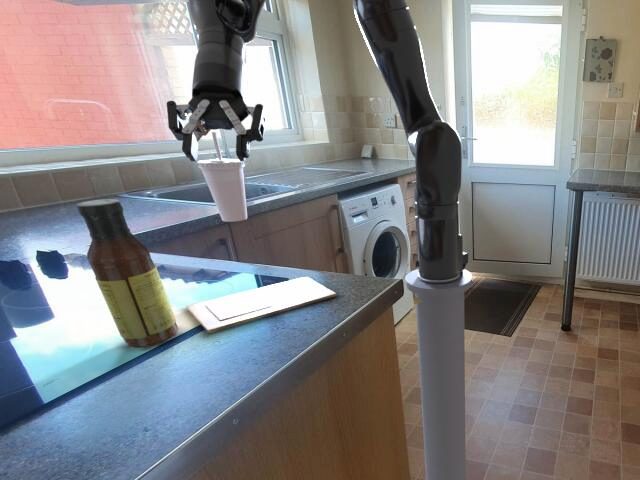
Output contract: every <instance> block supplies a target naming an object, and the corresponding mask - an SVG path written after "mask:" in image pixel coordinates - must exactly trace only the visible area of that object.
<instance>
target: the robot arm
mask: <svg viewBox="0 0 640 480" xmlns="http://www.w3.org/2000/svg"><path fill="white" fill-rule="evenodd" d="M266 1H267V0H188V8H189V14H190V16H191V19H192V22H193V25H194V28H195V31H196V35H197V38H198V39H197V49H196V54H195V58H194V62H193V65H194V66H193V74H192V76H193V77H192V84H191V85H192V86H191V99H190V100H189V101H188V102H187V104H177V103H176V101H174V100H168V101H167V102H166V112H167V124H168V129H169V130H170V132H171V133H172V135H173V136H174V138H175V139H176V140H177V141H180V142H182V145H181V150H182V152H183V154H184V155H185V157H186V158H187V159H189V161H190V162H198V157H199V146H200V145H199V143H198V142H199V141H200V140H201V139H202V137H203V136H205V137H206V136H207V135H208V134H209V132H211V130H215V131H216V130H225V131H232V129H233V130H234V131H235V133H236V137H235V138H236V139H235V140H236V141H235V155H236V157H237V159H239V160H240V161H243V162H246V160H247V159H249V157H250V155H251V154H250V152H251V151H250V150H251V143H252V142H253V141H254V142H255V141H256V142H259V143H260V142H262V141H263V140H264V137H265V132H266V127H267V123H268V122H267V121H268V115H267V112H266V110H265V107H264V105H263V104H262V103H257V104H255V106H248V105H247V98H248V97H247V95H248V85H249V81H248V72H247V46H246V44H249V43H250V42H252V41H254V40H255V38H256V35H257V31H258V28H259V23H260V17H261V14H262V10H263V8H264V6H265V3H266ZM351 1H352V7H353V11H354V15H355V18H356V21H357V23H358V26H359V28H360V31H361V33H362V35H363V39H364V40H365V43H366V45H367V47H368V49H369V52H370V54H371V56H372V58H373V60H374V63H375V65H376V67H377V69H378V71H379V73H380V75H381V77H382V79H383V81H384V83H385V85H386V87H387V89H388V91H389V92H390V94H391V98H392V99H393V101H394V103H395V105H396V108H397V112H398V115H399V118H400V120H401V123H402V126H403V131H404V133H405V137H406V141H407V143H408V147H409V150H410V153H411V154H412V156H413V157H414V161H415V184H414V185H415V186H414V189H413V196H414V197H413V200H414V216H415V232H416V235H415V236H416V251H417V253H416V254H417V260H416V261H415V262H414V263H415V269H418V278H419V280H421V281H422V282H425V283H429V284H446V283H451V282H454V281H456V280H458V279H459V278H460V276H463V270H464V269H465V268H466V266H467V264H468V263H469V253H468V252H465V251H464V242H463V241H464V240H463V239H464V237H463V236H462V235H463V234H460V208H459V207H460V206H459V205H460V202H459V199H460V192H461V188H462V187H461V186H462V171H463V170H462V169H463V166H462V163H463V155H462V152H463V150H462V141H461V138H460V135H459V133H458V131H457V130H456V128H454V126H452V124H450V123H449V122H447V121H444V120H443V119H442V117H441V115H440V113H439V111H438V108H437V106H436V104H435V102H434V99H433V97H432V94H431V91H430V88H429V83H428V77H427V72H426V65H425V60H424V53H423V49H422V45H421V40H420V37H419V34H418V30H417V28H416V25H415V23H414V20H413V16H412V14H411V11H410V8H409V6H408V3H407V0H351ZM189 114H190V115H189ZM188 115H189V117H188ZM249 116H250V117H251V125H250V128H247V129H246V127H245V126H244V125H243V123H242V122H243V121H245V120H246V119H247V118H248V117H249ZM187 117H188V122H187V123H186V124H185V123H184V121H186V120H187Z"/></svg>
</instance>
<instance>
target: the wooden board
mask: <svg viewBox="0 0 640 480" xmlns="http://www.w3.org/2000/svg"><path fill="white" fill-rule="evenodd" d="M335 297H338V296H337V292H335V291H333V290H331V289H329V288H328V287H326V286H324V285H323V284H321V283H319V282H318V281H316V280H314V279H312V278H311V277H309V276H303V277H299V278H294V279H290V280H287V281H281V282H278V283H273V284H269V285H266V286H261V287H256V288H254V289H249V290H244V291H241V292H238V293H233V294H229V295H225V296H219V297H217V298H212V299H208V300H204V301H201V302H200V301H199V302H196V303H192V304H187V305H185V307H186V310H187V311H188V312H189V313H190V314H191V316H193V317H194V319H195V320H196V321H197V322H198V323H199V325H201V327H202V329H204V330H205V331H206V333H208V334H212V333H215V332H219V331H223V330H227V329H230V328H233V327H237V326H240V325H243V324H246V323H251V322H253V321H257V320H260V319H264V318H267V317H270V316H274V315H277V314H281V313H284V312H288V311H291V310H294V309H298V308H301V307H304V306H308V305H311V304H315V303H319V302H323V301H325V300H329V299H332V298H335Z"/></svg>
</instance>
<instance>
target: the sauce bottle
mask: <svg viewBox="0 0 640 480" xmlns="http://www.w3.org/2000/svg"><path fill="white" fill-rule="evenodd" d="M76 208H77V211H78V215H80V217H82V218H83V220H84V222H85V225H86V228H87V229H88V233H89V237H90V239H91V242H90V245H89V247H88V249H87V253H86V254H87V255H86V258H87V261H88V262H89V265H90V268H91V269H92V271H93V272H92V273H94V276H95V277H94V278H95V281H96V283H97V285H98V288H99V289H100V292H101V295H102V296H103V298H104V300H105V303H106V306H107V307H108V310H109V313H110V314H111V317H112V319H113V322H114V324H115V326H116V328H117V331H118V333H119V335H120V338H122V339H123V341H124V343H125V344H127V345H128V346H129V347H134V348H141V347H147V346H148V347H149V346H151V347H152V346H155V345H158V344H161V343H164V342H167V341H169V340H171V339H172V338H173V337H175V336H176V335H177V333H179V331H178V330H179V326H178V324H177V319H176V316H175V314H174V310H173V308H172V305H171V303H170V300H169V298H168V294H167V292H166V290H165V287H164V284H163V282H162V281H163V280H162V279H161V276H160V274H159V271H158V268H157V266H156V263H155V262H154V261H153V259H152V256H151V253H150V250H149V248H148V247H147V246H146V245H145V244H143V243H142V242H141V241H140V240H139V239H138V238H137V237H136V236H135V235H134V234H133V233H132V232H131V228H129V227H128V223H127V221H126V218H125V215H124V208H123V205H122V203H121V201H120V200H119V199H112V198H111V199H95V200H86V201H82V202H79V203H77V204H76Z"/></svg>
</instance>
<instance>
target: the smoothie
mask: <svg viewBox="0 0 640 480" xmlns="http://www.w3.org/2000/svg"><path fill="white" fill-rule="evenodd" d="M211 135H212V139H213V143H214V147H215V152H216V155H217V158H212V159H202V160H197V161H196V163H197V168H198V169H200V170H201V172H202V174H203V177H204V180H205V182H206V185H207V186H208V189H209V192H210V194H211V197H212V199H213V202H214V204H215V206H216V209H217V212H218V214H219V216H220V219H221V221H223V222H226V223H227V222H228V223H230V222H234V223H235V222H241V221H245V220H247V219H248V210H247V209H248V208H247V199H246V197H247V196H246V188H245V187H246V186H245V185H246V184H245V175H244V167H246V165H245V161H240V160H239V159H238V158H223V156H222V152H221V148H220V143H219V140H218V135H217V132H215V131H212V132H211Z"/></svg>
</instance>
